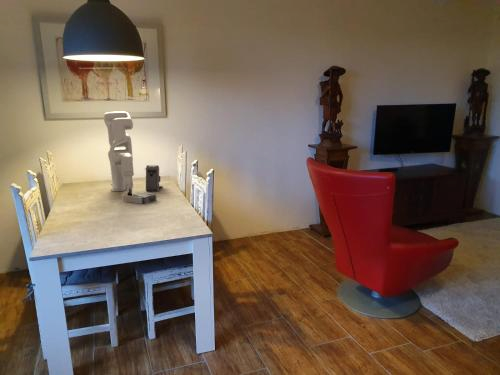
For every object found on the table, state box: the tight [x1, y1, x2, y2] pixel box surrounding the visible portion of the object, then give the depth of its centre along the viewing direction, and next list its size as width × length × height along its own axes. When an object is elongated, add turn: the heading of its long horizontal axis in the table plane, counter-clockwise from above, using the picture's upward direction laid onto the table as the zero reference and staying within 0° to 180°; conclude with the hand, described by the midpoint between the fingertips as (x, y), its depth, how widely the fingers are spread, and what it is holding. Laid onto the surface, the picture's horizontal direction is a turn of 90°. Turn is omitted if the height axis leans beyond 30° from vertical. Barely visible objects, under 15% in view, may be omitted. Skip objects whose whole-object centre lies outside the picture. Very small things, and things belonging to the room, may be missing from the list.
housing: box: [132, 191, 157, 205], centre depth 259 cm, size 13×10×5 cm
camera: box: [145, 164, 163, 193], centre depth 290 cm, size 11×17×20 cm, turn 174°
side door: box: [122, 194, 145, 205], centre depth 255 cm, size 18×1×5 cm, turn 66°
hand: (130, 199), depth 260 cm, fingers closed
